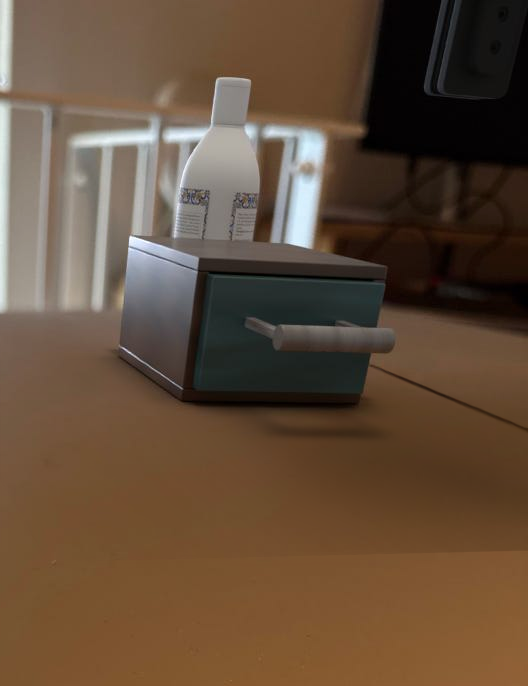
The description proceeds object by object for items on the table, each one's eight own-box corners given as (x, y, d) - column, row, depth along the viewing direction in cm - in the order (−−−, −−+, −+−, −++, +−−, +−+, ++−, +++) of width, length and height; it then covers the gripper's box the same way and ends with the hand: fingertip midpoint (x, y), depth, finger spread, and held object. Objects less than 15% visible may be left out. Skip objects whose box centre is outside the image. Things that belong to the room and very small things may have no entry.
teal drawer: (412, 417, 57) (440, 298, 54) (234, 415, 55) (253, 290, 52) (276, 353, 74) (292, 259, 71) (135, 349, 72) (145, 251, 68)
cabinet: (359, 403, 64) (388, 266, 60) (181, 401, 61) (199, 257, 57) (269, 359, 77) (288, 243, 73) (117, 355, 74) (129, 234, 70)
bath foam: (235, 324, 92) (271, 84, 83) (241, 336, 86) (280, 78, 77) (163, 318, 93) (190, 79, 83) (164, 329, 86) (194, 72, 77)
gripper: (394, -405, 40) (311, 95, 49) (668, -657, 27) (492, 81, 36) (547, -371, 42) (442, 107, 50) (874, -594, 29) (660, 98, 37)
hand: (463, 95), depth 43 cm, fingers closed
